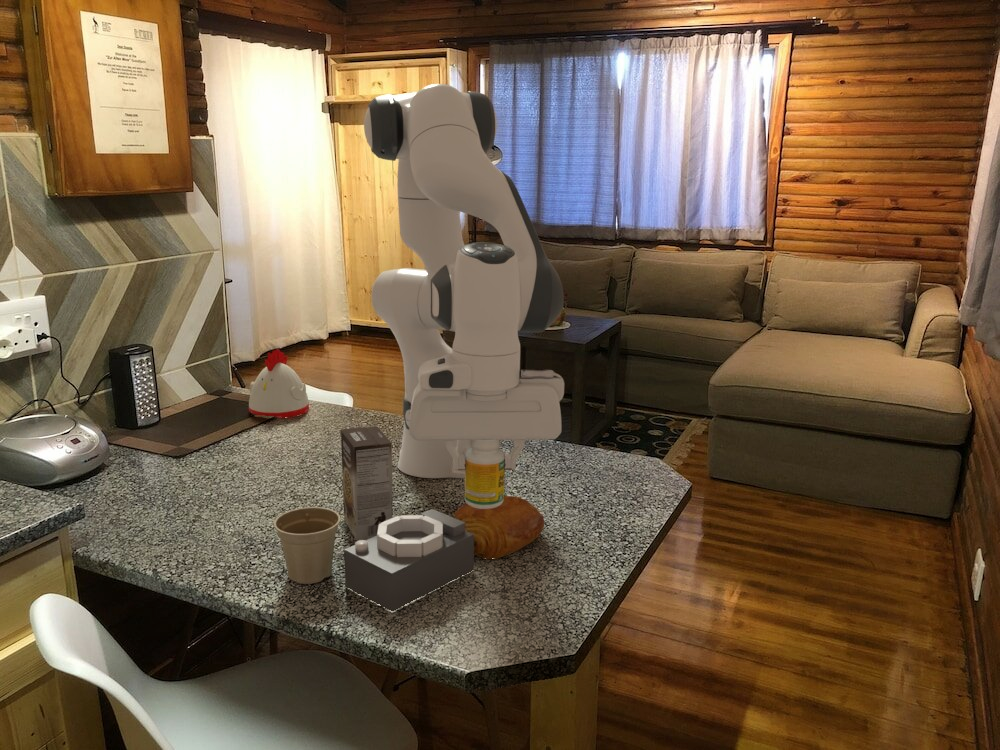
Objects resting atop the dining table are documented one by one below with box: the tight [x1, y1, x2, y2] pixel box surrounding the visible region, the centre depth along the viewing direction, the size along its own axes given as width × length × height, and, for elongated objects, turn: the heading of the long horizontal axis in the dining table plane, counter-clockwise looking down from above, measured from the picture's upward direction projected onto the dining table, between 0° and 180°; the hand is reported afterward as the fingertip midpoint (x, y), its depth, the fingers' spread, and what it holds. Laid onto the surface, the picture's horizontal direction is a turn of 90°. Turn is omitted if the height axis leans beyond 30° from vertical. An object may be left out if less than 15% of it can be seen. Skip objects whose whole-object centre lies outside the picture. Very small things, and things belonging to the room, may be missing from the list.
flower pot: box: [273, 506, 342, 585], centre depth 118 cm, size 9×9×9 cm
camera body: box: [343, 508, 475, 611], centre depth 117 cm, size 16×10×8 cm, turn 139°
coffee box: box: [340, 425, 393, 542], centre depth 133 cm, size 9×6×16 cm
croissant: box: [452, 494, 545, 560], centre depth 131 cm, size 14×16×8 cm
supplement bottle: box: [464, 439, 506, 509], centre depth 110 cm, size 5×5×10 cm
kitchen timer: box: [248, 348, 310, 418], centre depth 193 cm, size 14×14×15 cm
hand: (484, 468), depth 110 cm, fingers closed on supplement bottle, 5 cm apart
